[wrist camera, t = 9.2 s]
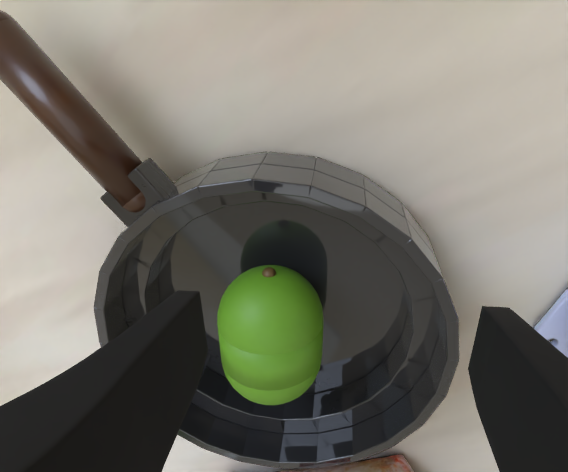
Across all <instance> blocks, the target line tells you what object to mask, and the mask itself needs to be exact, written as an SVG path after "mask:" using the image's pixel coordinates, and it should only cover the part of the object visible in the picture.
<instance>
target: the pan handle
mask: <svg viewBox="0 0 568 472" xmlns="http://www.w3.org/2000/svg"><path fill="white" fill-rule="evenodd" d="M0 80H1V81H2V82H3V83H4V84H5V85H6V86H7V87H8V88H9V89H10V90H11V91H12V92H13V93H14V94H15V95H16V97H17V98H18V99H19V100H20V101H21V102H22V103H23V104H24V105H25V106H26V107H27V108H28V109H29V110H30V111H31V112H32V113H33V114H34V115H35V117H36V118H37V119H38V120H39V121H40V122H41V123H42V124H43V125H44V126H45V127H46V128H47V129H48V130H49V131H50V132H51V133H52V134H53V135H54V137H55V138H56V139H57V140H58V141H59V142H60V143H61V144H62V145H63V146H64V147H65V148H66V149H67V150H68V151H69V152H70V153H71V154H72V155H73V157H74V158H75V159H76V160H77V161H78V162H79V163H80V164H81V165H82V166H83V167H84V168H85V169H86V170H87V171H88V172H89V173H90V174H91V176H92V177H93V178H94V179H95V180H96V181H97V182H98V183H99V184H100V185H101V186H102V187H103V188H104V189H105V190H106V191H107V192H106V193H105V194H104V195H103V196H102V197H101V200H102V201H103V202H104V203H105V204H106V205H107V206H108V207H109V208H110V209H111V210H112V211H113V212H114V213H115V214H116V215H117V217H118V218H119V219H120V220H121V221H122V222H123V223H124V224H125V225H126V226H127V227H129V226H130V225H131V224H132V223H133V222H134V221H135V220H136V219H138V218H139V217H140V216H141V215H142V214H143V213H144V212H145V211H147V210H148V209H149V208H150V207H151V206H152V205H153V204H155V203H157V202H159V201H161V200H163V199H165V198H166V197H167V196H168V195H169V194H170V193H171V192H172V191H173V190H174V189H175V188H176V186H175V185H174V183H173V182H172V181H171V180H170V179H169V178H168V177H167V176H166V174H165V173H164V172H163V171H162V170H161V169H160V168H159V167H158V165H157V164H156V163H155V162H154V161H153V160H152V159H151V158H148V159H147V160H145V161H144V162H142V161H141V160H140V159H139V158H138V157H137V156H136V155H135V153H134V152H133V151H132V150H131V149H130V148H129V147H128V146H127V144H126V143H125V142H124V141H123V140H122V139H121V138H120V137H119V136H118V134H117V133H116V132H115V131H114V130H113V129H112V128H111V127H110V125H109V124H108V123H107V122H106V121H105V120H104V119H103V118H102V117H101V115H100V114H99V113H98V112H97V111H96V110H95V109H94V108H93V106H92V105H91V104H90V103H89V102H88V101H87V100H86V99H85V98H84V96H83V95H82V94H81V93H80V92H79V91H78V90H77V89H76V87H75V86H74V85H73V84H72V83H71V82H70V81H69V80H68V78H67V77H66V76H65V75H64V74H63V73H62V72H61V71H60V70H59V68H58V67H57V66H56V65H55V64H54V63H53V62H52V61H51V59H50V58H49V57H48V56H47V55H46V54H45V53H44V52H43V51H42V49H41V48H40V47H39V46H38V45H37V44H36V43H35V42H34V40H33V39H32V38H31V37H30V36H29V35H28V34H27V33H26V32H25V30H24V29H23V28H22V27H21V26H20V25H19V24H18V23H17V21H15V20H14V19H13V18H12V17H11V16H10V15H8V14H7V13H5V12H3V11H1V10H0Z"/></svg>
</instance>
